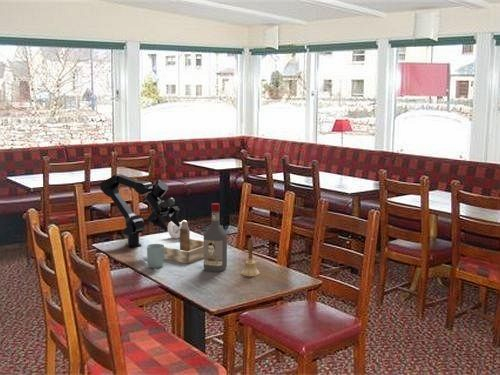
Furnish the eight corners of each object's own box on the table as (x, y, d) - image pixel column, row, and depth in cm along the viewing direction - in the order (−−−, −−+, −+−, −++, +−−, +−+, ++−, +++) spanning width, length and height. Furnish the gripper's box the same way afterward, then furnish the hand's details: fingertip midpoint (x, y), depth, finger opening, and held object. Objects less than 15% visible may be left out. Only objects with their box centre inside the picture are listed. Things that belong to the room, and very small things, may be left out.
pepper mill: (178, 254, 299) (178, 220, 296) (187, 253, 301) (187, 219, 298) (182, 256, 295) (182, 222, 292) (191, 255, 297) (191, 221, 294)
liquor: (209, 264, 285) (210, 201, 280) (228, 267, 282) (228, 202, 277) (201, 270, 276) (201, 204, 271) (220, 272, 273) (221, 206, 268)
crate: (161, 259, 293) (161, 246, 292) (187, 249, 309) (187, 238, 308) (188, 264, 284) (188, 252, 283) (213, 254, 301) (213, 243, 300)
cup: (166, 265, 283) (166, 244, 282) (162, 270, 276) (162, 248, 274) (149, 264, 284) (149, 243, 282) (145, 269, 276) (144, 247, 275)
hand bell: (242, 276, 268) (243, 241, 266) (239, 271, 276) (239, 236, 274) (261, 276, 270) (262, 240, 267) (257, 270, 278) (258, 235, 275)
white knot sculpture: (171, 233, 340) (171, 217, 339) (192, 234, 339) (192, 218, 338) (166, 239, 329) (166, 222, 328) (188, 239, 328) (188, 223, 327)
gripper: (151, 195, 292) (169, 221, 288) (176, 190, 307) (194, 214, 303) (139, 210, 297) (157, 235, 293) (164, 203, 313) (181, 228, 309)
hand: (173, 228), depth 299 cm, fingers open, 9 cm apart
